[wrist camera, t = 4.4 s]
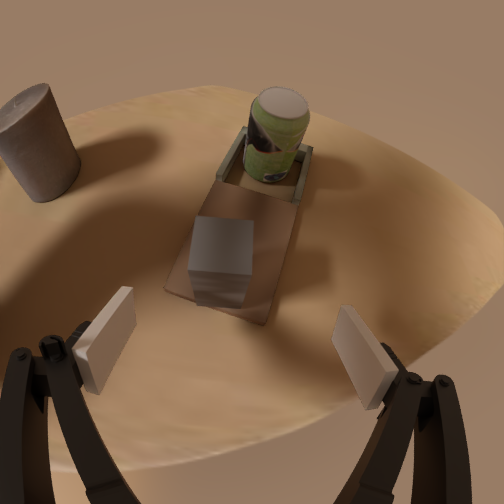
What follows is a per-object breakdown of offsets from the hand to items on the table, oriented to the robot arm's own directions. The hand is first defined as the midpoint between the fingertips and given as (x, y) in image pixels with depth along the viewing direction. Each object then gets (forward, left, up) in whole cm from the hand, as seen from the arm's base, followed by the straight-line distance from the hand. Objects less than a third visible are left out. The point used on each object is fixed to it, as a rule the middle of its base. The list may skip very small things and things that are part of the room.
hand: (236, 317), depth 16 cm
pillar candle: (-31, +11, -9) cm, 34 cm away
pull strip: (-2, +14, -9) cm, 17 cm away
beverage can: (-2, +21, -9) cm, 23 cm away
